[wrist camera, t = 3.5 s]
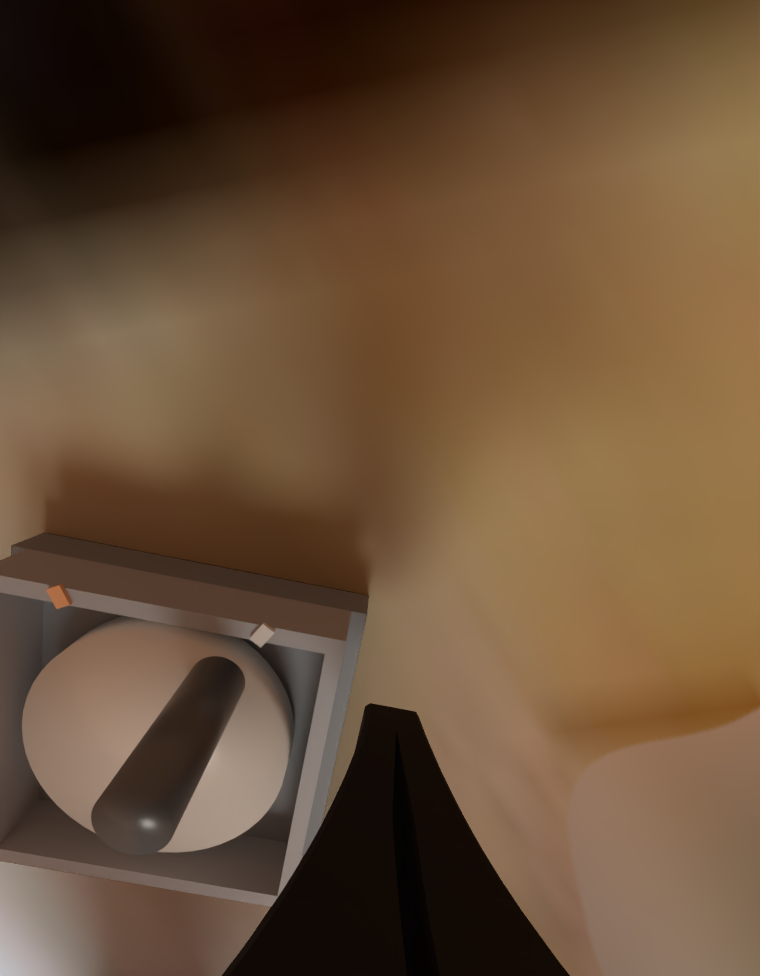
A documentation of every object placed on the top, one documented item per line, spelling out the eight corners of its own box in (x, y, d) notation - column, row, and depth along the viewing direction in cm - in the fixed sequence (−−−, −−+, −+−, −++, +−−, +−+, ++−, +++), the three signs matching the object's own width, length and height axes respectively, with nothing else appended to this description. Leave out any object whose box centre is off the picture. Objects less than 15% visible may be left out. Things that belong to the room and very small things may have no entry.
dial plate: (319, 824, 16) (305, 916, 13) (38, 774, 16) (-39, 858, 13) (369, 592, 14) (364, 643, 11) (44, 529, 13) (-49, 564, 11)
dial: (199, 857, 14) (103, 1093, 10) (3, 729, 13) (-218, 921, 8) (344, 716, 13) (319, 906, 8) (139, 561, 12) (-32, 673, 7)
